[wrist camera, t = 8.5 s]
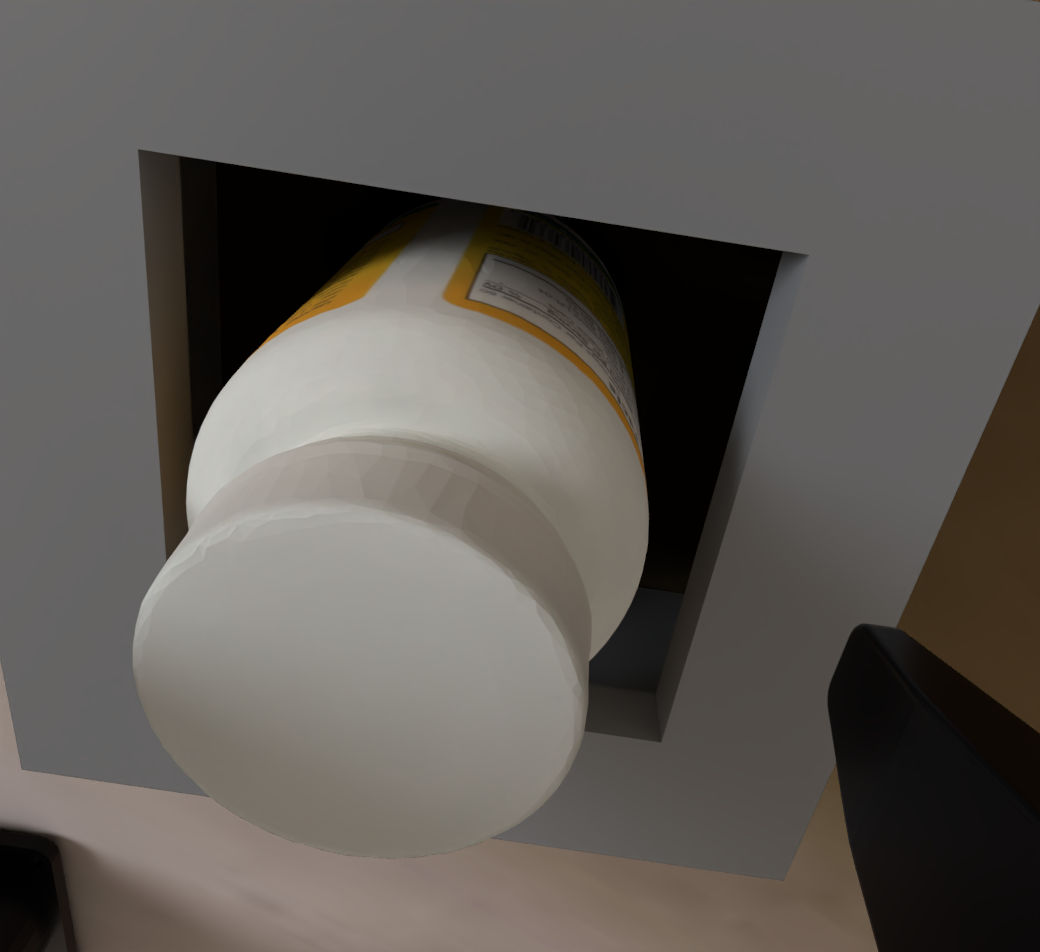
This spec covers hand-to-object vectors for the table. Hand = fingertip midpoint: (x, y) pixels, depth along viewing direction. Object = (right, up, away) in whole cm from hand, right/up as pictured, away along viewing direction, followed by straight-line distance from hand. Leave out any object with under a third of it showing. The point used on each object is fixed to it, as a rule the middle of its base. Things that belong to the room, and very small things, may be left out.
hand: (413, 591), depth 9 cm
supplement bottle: (0, +4, +7) cm, 8 cm away
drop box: (0, +4, +7) cm, 8 cm away
